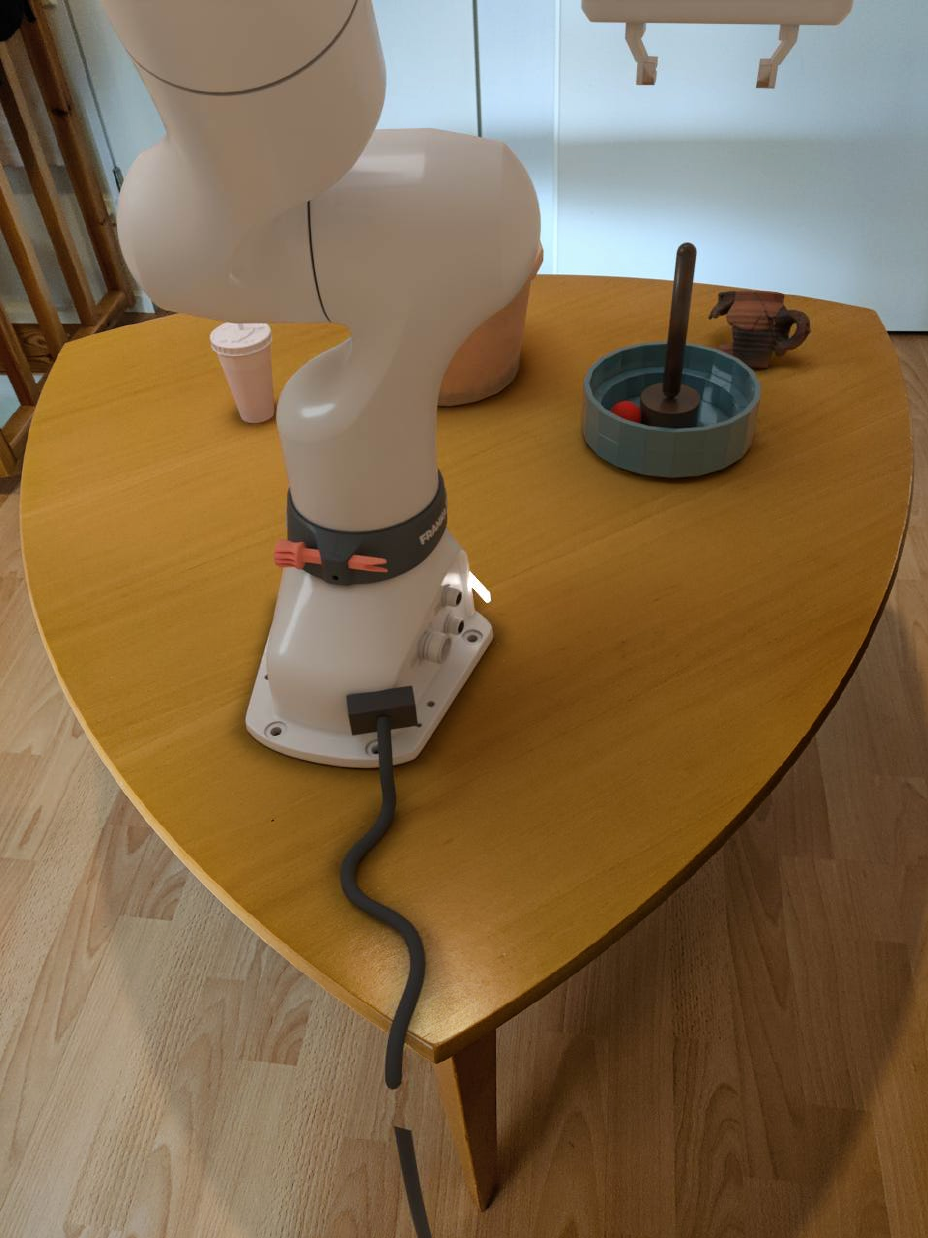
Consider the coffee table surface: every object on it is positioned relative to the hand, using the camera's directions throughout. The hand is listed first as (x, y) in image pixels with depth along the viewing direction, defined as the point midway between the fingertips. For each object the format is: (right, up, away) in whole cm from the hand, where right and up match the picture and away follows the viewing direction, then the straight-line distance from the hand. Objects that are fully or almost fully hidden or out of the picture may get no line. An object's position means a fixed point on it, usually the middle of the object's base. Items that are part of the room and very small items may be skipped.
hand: (705, 84), depth 80 cm
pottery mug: (+14, -12, +34) cm, 39 cm away
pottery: (-21, -14, +35) cm, 43 cm away
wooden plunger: (+2, -23, +23) cm, 32 cm away
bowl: (+1, -24, +23) cm, 33 cm away
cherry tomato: (-3, -22, +21) cm, 31 cm away
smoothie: (-42, -21, +29) cm, 55 cm away
